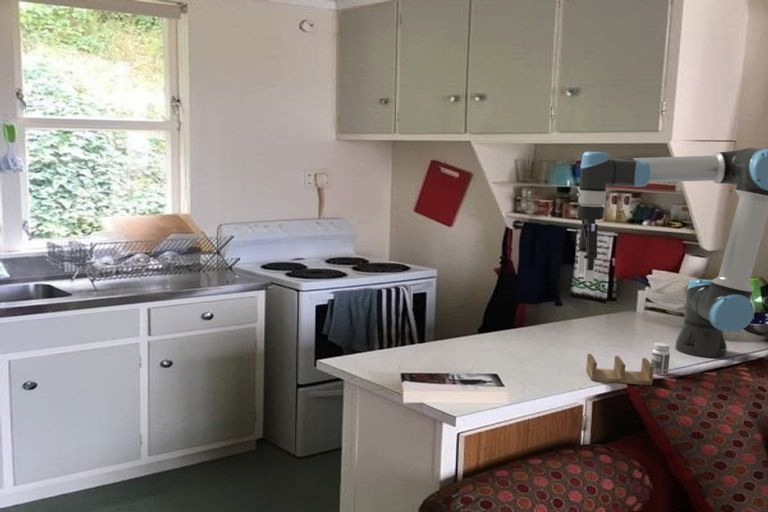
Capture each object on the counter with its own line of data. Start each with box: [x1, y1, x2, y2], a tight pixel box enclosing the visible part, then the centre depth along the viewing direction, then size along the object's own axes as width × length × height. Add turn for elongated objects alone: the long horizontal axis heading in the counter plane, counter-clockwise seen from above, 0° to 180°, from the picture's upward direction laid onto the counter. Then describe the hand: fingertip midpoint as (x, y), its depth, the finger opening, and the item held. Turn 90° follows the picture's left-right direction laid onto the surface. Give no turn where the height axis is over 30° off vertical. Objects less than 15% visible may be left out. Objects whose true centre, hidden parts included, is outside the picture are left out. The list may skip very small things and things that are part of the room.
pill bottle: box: [650, 342, 671, 376], centre depth 229 cm, size 5×5×8 cm
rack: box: [585, 353, 654, 386], centre depth 222 cm, size 16×9×5 cm, turn 85°
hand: (585, 277), depth 239 cm, fingers open, 13 cm apart
